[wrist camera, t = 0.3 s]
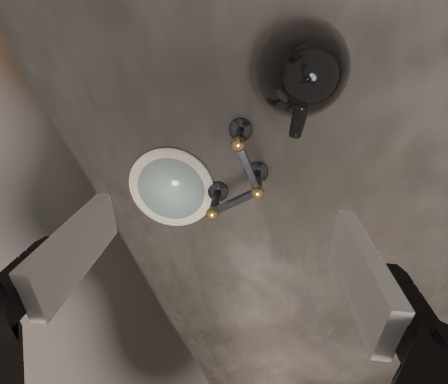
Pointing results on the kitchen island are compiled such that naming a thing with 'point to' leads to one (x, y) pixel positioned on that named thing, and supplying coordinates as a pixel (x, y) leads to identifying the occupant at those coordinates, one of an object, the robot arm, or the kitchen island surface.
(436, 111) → the kitchen island surface
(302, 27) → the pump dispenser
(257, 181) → the metal corner railing
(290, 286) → the kitchen island surface
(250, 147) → the kitchen island surface
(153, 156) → the coaster
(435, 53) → the kitchen island surface
